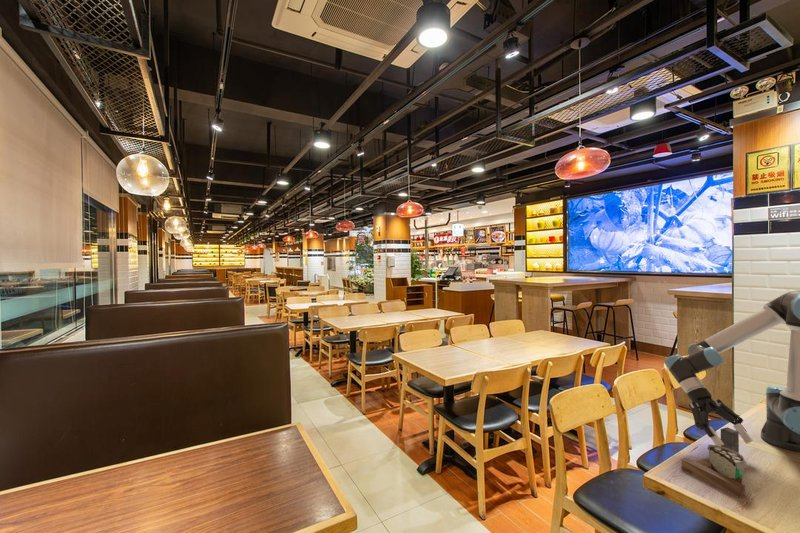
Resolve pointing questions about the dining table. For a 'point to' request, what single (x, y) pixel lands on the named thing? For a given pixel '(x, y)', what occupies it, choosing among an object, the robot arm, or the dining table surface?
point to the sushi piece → (727, 462)
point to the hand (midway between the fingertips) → (735, 443)
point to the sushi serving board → (713, 477)
